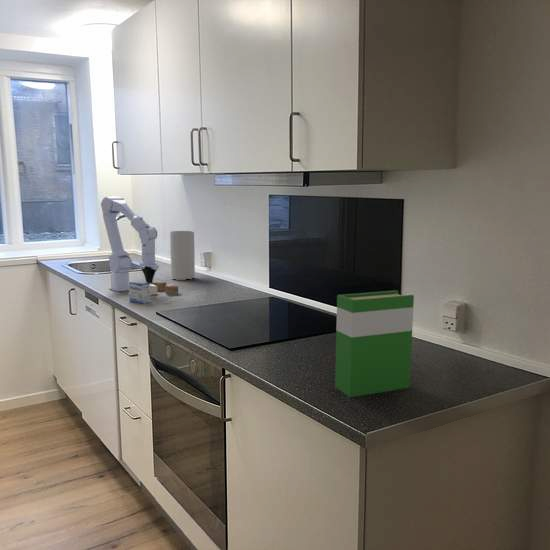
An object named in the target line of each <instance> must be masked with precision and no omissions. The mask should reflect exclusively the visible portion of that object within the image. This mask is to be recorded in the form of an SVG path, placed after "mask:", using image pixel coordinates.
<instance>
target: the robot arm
mask: <svg viewBox="0 0 550 550" xmlns="http://www.w3.org/2000/svg"><path fill="white" fill-rule="evenodd" d="M100 206H101V212H102V218H103V222H104V225H105V231H106V233H107V238H108V241H109V245H110V250H111V253H110V255H109V256H108V261H109V262H108V264H109V269H110V270H111V273H110V287H109V289H108V290H111V289H112V291H114V292H125V291H129V282H130V271H131V268H132V267H133V260H132V259H131V257H130V254H129V253H128V252H127V251H126V250H125V249H124V246H123V241H122V238H121V234H120V230H119V229H120V228H119V226H118V222H117V219H116V218H117V216H119V215H120V213H121V214H122V215H123V216H124V217H125V218H127V219H128V220H129V221H130V225H131V226H132V228H133V229H134V230H135V231H136V232H137V233H138V237H139V239H140V243H141V247H142V248H141V252H142V255H141V256H142V261H139V266H140V267H143V268H141V272H142V274H143V275H144V278H145V282H148V283H150V285H151V283H152V282H154V281H153V280H154V277H155V274H156V272H157V271H159V264H158V262H156V239H157V238H158V231H157V229H156V228H155V226H150V225H149V224H148V223H147V222H146V220H144V217H142V216H137V215H136V214H135V212H134V211H133V210H132V209H131V207H130V206H129V205H128V204H127V200H125V198H124V197H122V196H104V197H103V199H102V200H101V202H100Z"/></svg>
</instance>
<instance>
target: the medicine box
mask: <svg viewBox="0 0 550 550" xmlns="http://www.w3.org/2000/svg"><path fill="white" fill-rule="evenodd" d="M150 285H151V284H150V283H148V282H146V281H138V280H133V281H129V290H128V291H129V292H128V295H129V296H128V297H129V302H130V303H135V302H137V304H143V303H144V304H147V302H148V303H150V302H151V295H150Z"/></svg>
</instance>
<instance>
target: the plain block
mask: <svg viewBox="0 0 550 550" xmlns="http://www.w3.org/2000/svg"><path fill="white" fill-rule="evenodd" d="M151 294H154V295H158V291H157V286H156V285H153V284H150V296H152V295H151Z"/></svg>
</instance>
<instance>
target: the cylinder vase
mask: <svg viewBox="0 0 550 550" xmlns="http://www.w3.org/2000/svg"><path fill="white" fill-rule="evenodd" d="M169 237H170V239H169V241H170V243H169V244H170V248H169V249H170V278H171V279H172V280H173V279H176V280H175V281H187V280H186V279H191V280H193V279H192V278H194V277H196V274H195V272H196V269H195V268H196V266H195V265H196V263H195V262H196V261H195V260H196V259H195V231H192V230H172V231H170V232H169ZM194 279H195V278H194Z"/></svg>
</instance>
